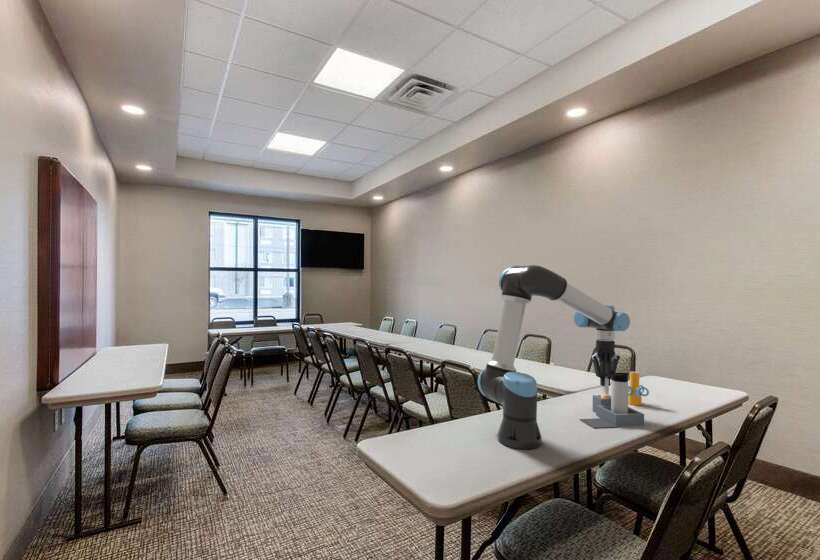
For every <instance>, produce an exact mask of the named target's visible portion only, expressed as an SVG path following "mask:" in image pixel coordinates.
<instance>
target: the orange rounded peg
mask: <svg viewBox="0 0 820 560" xmlns="http://www.w3.org/2000/svg"><path fill="white" fill-rule="evenodd" d="M600 395H601V398H603V399H606V398H609V396H608V395H609V394H600Z"/></svg>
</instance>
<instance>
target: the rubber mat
mask: <svg viewBox="0 0 820 560" xmlns="http://www.w3.org/2000/svg"><path fill="white" fill-rule="evenodd" d="M579 421H581V422H582V423H584V424H585V425H587V426H589V427H590V428H592V429H613V428H615V429H617V428H618V426H615V425H614V424H612V423H610V422H608V421H606V420H604V419H602V418H600V417H597V418H595V417H594V418H579Z"/></svg>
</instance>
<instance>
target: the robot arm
mask: <svg viewBox="0 0 820 560" xmlns="http://www.w3.org/2000/svg"><path fill="white" fill-rule="evenodd" d="M498 286H499V287H500V290H501V298H502V300H503V303H502V304H503V305H502V310H501V314H500V319H499V323H498V328H497V329H498V330H497V334H496V338H495V343H494V346H493V347H494V348H493V352H492V357H491V360H489V361H488V362H487V363H486V366H485V368H484V369H482V370H481V371H480V373H479V374H478V376H477V386H478V390H479V392H480V393H481V395H483V396H484V397H486V398H487V399H488V400H490V401H493V402H495V403H497V404H499V405H501V406H502V419H501V422H500V426H499V428H498V432H497V441H498V442H499V443H500V444H502V445H504V446H506V447H509V448H513V449H519V450H534V449H538V448H539V447H541V446H542V443H543V441H542V440H543V439H542V437H543V436H542V433H541V431H540V428H539V425H538V422H537V421H538V420H537V417H538V416H537V415H538V413H537V412H538V411H537V410H538V409H537V408H538V386H537V380H536V379H535V378H534V377H533V376H532V375H530V374H527V373H524V372H523V373H522V372H520V371H517V369H516V368H515V360H516V356H517V349H518V345H519V339H520V336H521V335H520V334H521V332H522V331H521V330H522V325H523V321H524V316H525V312H526V307H527V305H529V304H531V303H532V298H533V297H534V296H536V297H543V298H546V299H548V300H550V301H553V302H554V301H557V302H559V303H561V304H562V305H564V306H567V307H568V308H570V309H572V310H574V311H575V312H574V314H573V323H574V324H575V326H577V327H578V328H585V329H586V328H592V329H595V339H596V340H595V347H596V349H595V354H593V355H590V359H591V360H592V363H593V368H594V373H595V376H596V377H598V378H600V383H599V385H600V386H601V393H602V394H603V395H610V394H609V393H610V391H609V390H610V387H611V378H612V377H611V375H612V373H617V372H616V371H617V368H618V363H619V361H620V359H621V356H620V355H618V354H616V351H615V349H616V342H615V340H616V332H626V331H627V330H628V329H629V328H630V324H631V318H630V316H629V315H628V314H627V313H625V312H621V311H616V310H615V309H616V308H615V306H614V305H611V304H603V303H602V302H600V301H598V300H597V299H596V298H593V297H591V296H590V295H588V294H586V293H585V292H583V291H581V290H580V289H578V288H576V287H574V286H573V285H571V284H570V283H568V281H567V279H566V278H565V277H563V276H561V275H560V274H558V273H557V272H554V271H552V270H550V269H548V268H546V267H543V266H540V265H536V264H530V265H513V266H510V267H508V268H506V269H504V270H503V271H502V272H501V273H500V276H499V279H498Z"/></svg>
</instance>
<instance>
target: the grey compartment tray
mask: <svg viewBox="0 0 820 560" xmlns="http://www.w3.org/2000/svg"><path fill="white" fill-rule="evenodd" d="M601 395H602V394H598V395H597V394H595V395H593V394H592V412H594V413H595V416H596V417H597V418H602V419H604V420H606V421H608V422H610V423H612V424H614V425H615V426H617V427H631V426H632V427H634V426H639V427H640V426H645V413H643V412H641V411H638V410H636V409H634V408H631V407H630V406H628V414H616V413H614V412H612V411H611V394H607V395H608V396H609V398H606V399H603V398H601Z"/></svg>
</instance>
